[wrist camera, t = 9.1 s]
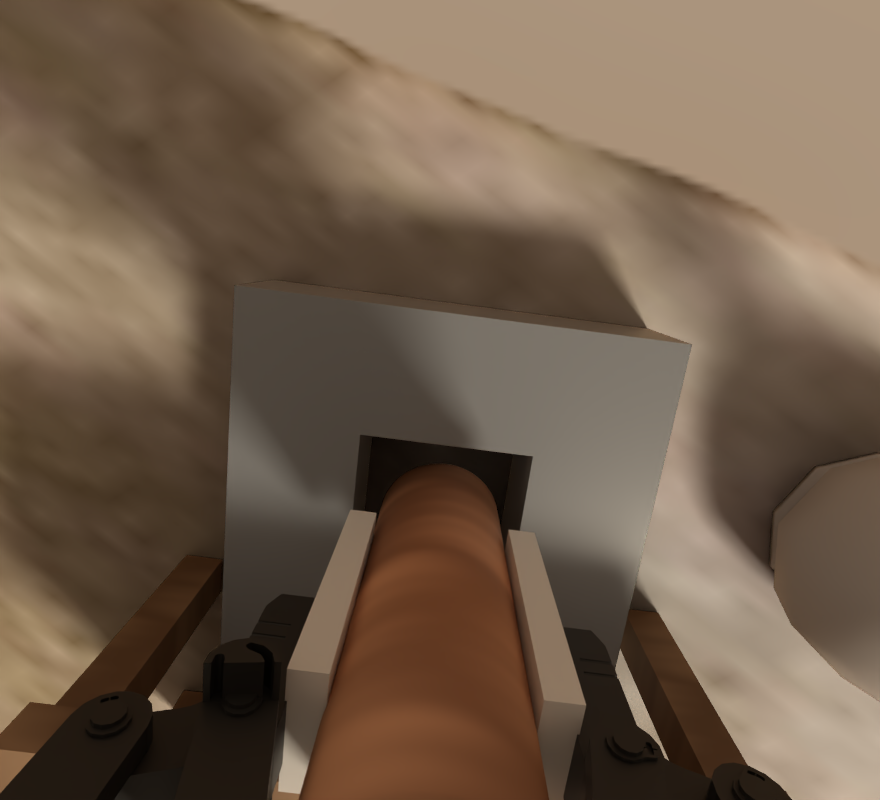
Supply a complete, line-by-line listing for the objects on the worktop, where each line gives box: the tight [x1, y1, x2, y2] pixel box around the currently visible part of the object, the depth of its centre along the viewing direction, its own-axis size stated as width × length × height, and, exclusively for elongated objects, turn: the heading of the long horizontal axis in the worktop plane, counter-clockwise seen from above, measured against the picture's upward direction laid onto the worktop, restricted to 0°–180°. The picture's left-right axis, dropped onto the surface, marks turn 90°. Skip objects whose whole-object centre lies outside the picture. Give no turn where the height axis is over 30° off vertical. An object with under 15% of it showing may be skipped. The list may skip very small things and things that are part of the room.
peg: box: [298, 463, 549, 800], centre depth 14 cm, size 4×4×12 cm
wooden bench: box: [0, 555, 787, 800], centre depth 20 cm, size 21×8×10 cm, turn 83°
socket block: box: [221, 280, 692, 669], centre depth 21 cm, size 14×14×4 cm
